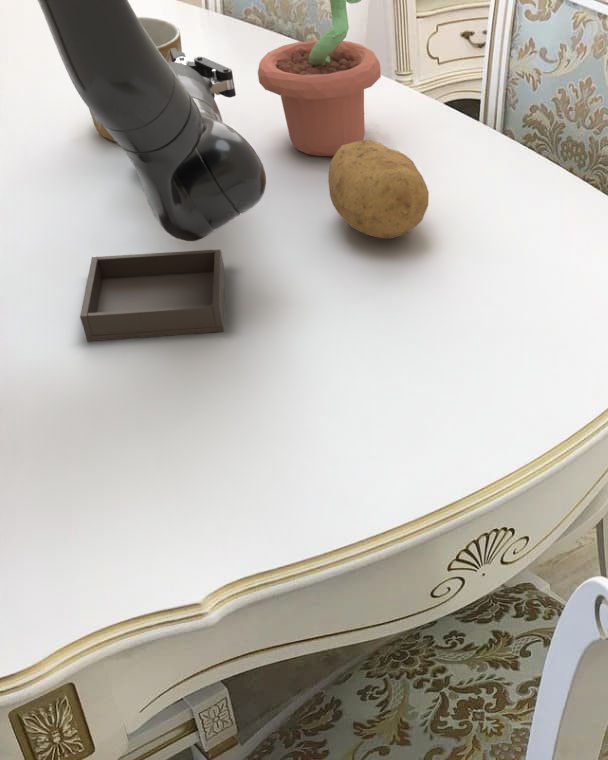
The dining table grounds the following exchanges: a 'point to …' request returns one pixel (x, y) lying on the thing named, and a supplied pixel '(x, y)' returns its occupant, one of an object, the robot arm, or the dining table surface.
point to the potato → (377, 189)
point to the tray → (154, 295)
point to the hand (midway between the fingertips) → (158, 59)
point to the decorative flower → (322, 86)
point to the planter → (164, 39)
